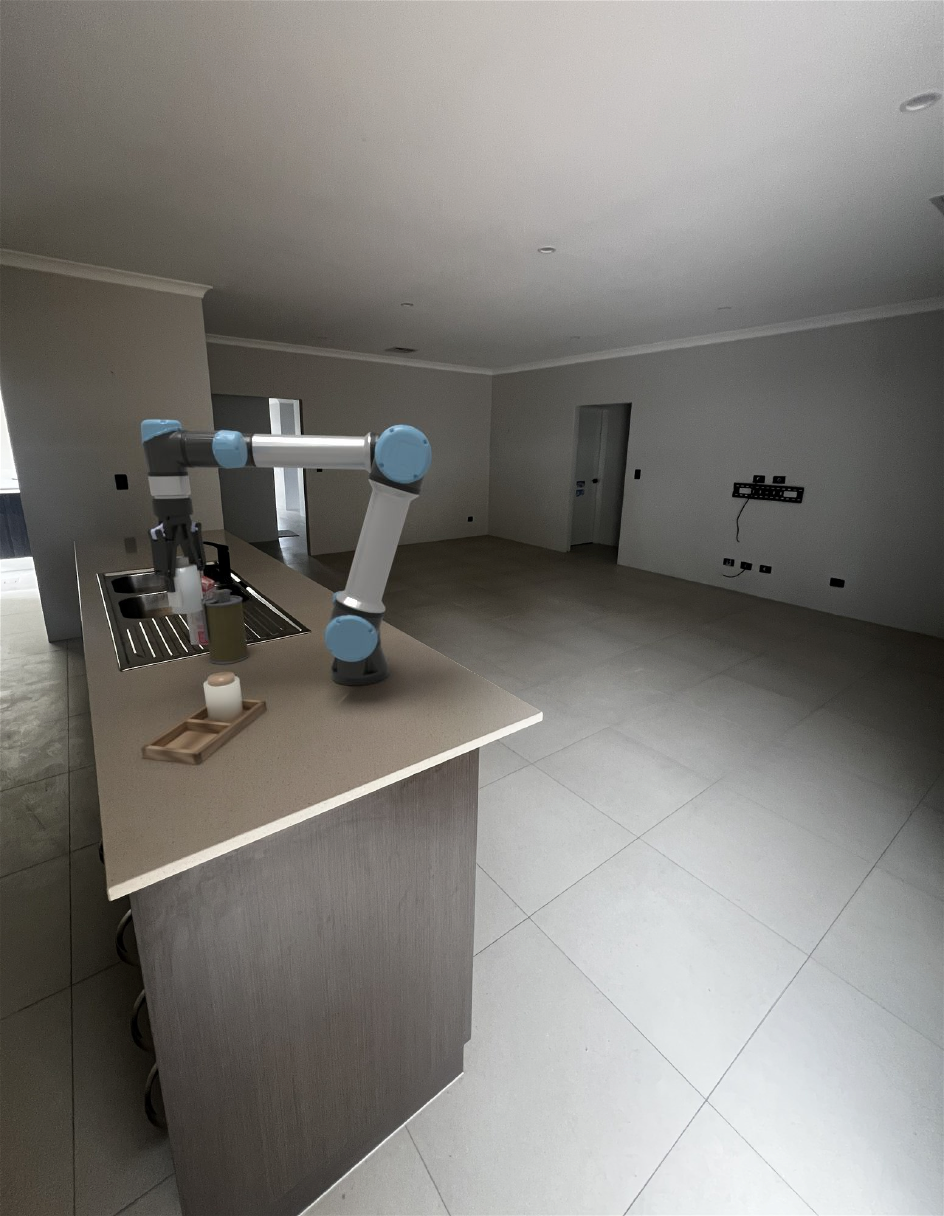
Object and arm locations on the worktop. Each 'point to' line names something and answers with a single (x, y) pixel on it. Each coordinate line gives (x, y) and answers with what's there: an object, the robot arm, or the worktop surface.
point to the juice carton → (200, 614)
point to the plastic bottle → (188, 586)
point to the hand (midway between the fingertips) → (186, 602)
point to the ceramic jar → (223, 697)
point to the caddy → (199, 735)
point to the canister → (224, 627)
